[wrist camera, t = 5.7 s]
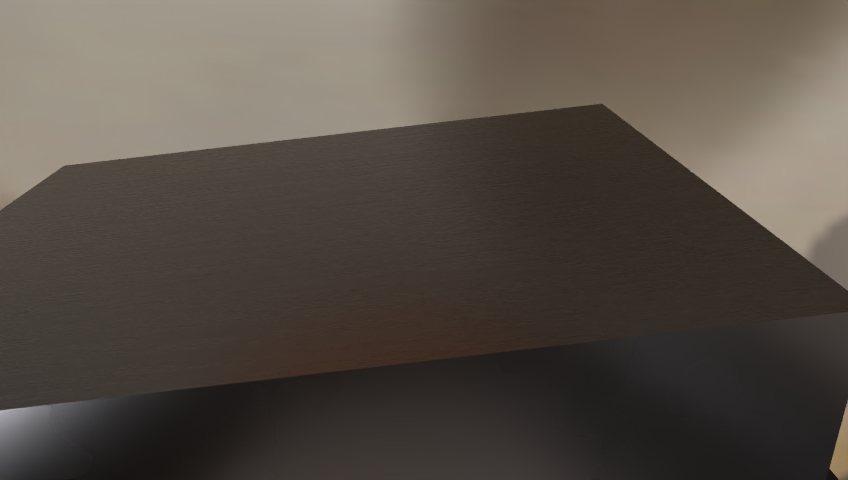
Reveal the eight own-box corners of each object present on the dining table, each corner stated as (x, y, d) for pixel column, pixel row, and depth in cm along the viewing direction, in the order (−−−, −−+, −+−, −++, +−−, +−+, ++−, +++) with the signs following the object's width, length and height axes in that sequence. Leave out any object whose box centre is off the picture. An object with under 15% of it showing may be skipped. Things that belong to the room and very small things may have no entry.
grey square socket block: (64, 165, 11) (-344, 450, 5) (601, 103, 11) (872, 309, 5) (205, 532, 16) (84, 927, 9) (591, 487, 16) (726, 851, 9)
